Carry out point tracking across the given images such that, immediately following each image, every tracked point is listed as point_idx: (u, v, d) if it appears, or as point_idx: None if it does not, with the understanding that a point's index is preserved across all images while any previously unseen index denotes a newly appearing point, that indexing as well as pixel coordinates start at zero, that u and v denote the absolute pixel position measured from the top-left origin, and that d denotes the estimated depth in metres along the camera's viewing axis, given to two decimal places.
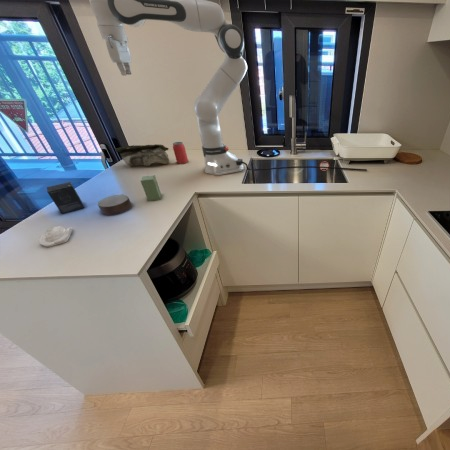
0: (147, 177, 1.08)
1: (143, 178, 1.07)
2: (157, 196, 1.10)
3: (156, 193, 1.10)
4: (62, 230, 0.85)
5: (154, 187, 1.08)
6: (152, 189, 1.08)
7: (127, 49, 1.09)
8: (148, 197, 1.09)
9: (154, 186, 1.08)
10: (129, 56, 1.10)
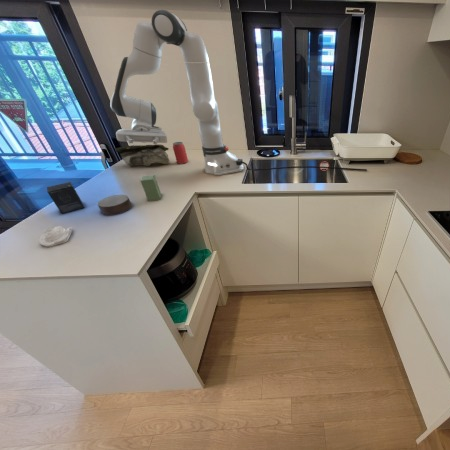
0: (147, 177, 1.08)
1: (143, 178, 1.07)
2: (157, 196, 1.10)
3: (156, 193, 1.10)
4: (62, 230, 0.85)
5: (154, 187, 1.08)
6: (152, 189, 1.08)
7: (160, 132, 1.19)
8: (148, 197, 1.09)
9: (154, 186, 1.08)
10: (160, 134, 1.17)
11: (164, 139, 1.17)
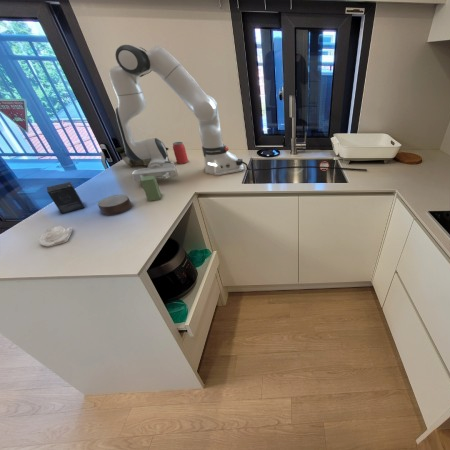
0: (147, 177, 1.08)
1: (143, 178, 1.07)
2: (157, 196, 1.10)
3: (156, 193, 1.10)
4: (62, 230, 0.85)
5: (154, 187, 1.08)
6: (152, 189, 1.08)
7: (171, 166, 1.26)
8: (148, 197, 1.09)
9: (154, 186, 1.08)
10: (171, 168, 1.24)
11: (174, 173, 1.23)
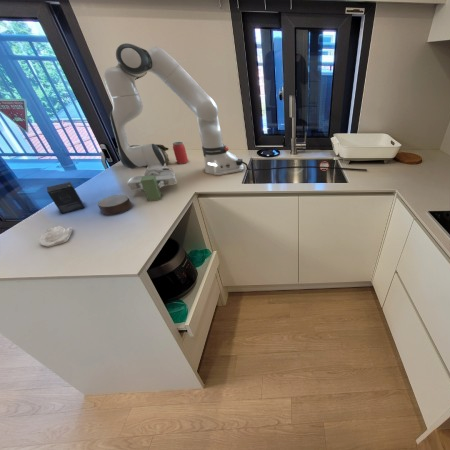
0: (147, 177, 1.08)
1: (143, 178, 1.07)
2: (157, 196, 1.10)
3: (156, 193, 1.10)
4: (62, 230, 0.85)
5: (154, 187, 1.08)
6: (152, 189, 1.08)
7: (170, 174, 1.18)
8: (148, 197, 1.09)
9: (154, 186, 1.08)
10: (169, 176, 1.16)
11: (173, 181, 1.15)
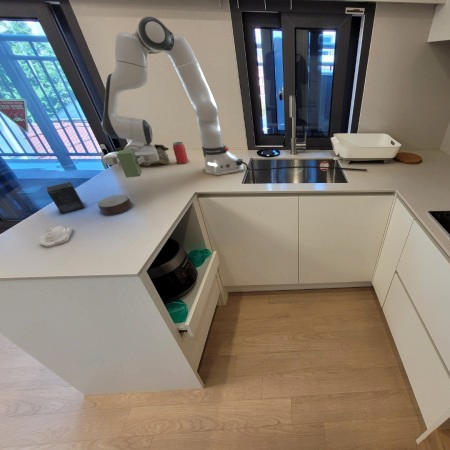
0: (125, 151, 0.98)
1: (120, 152, 0.97)
2: (136, 172, 1.01)
3: (135, 169, 1.00)
4: (62, 230, 0.85)
5: (132, 162, 0.98)
6: (130, 164, 0.98)
7: (151, 150, 1.08)
8: (126, 173, 1.00)
9: (132, 161, 0.98)
10: (151, 152, 1.06)
11: (154, 157, 1.06)
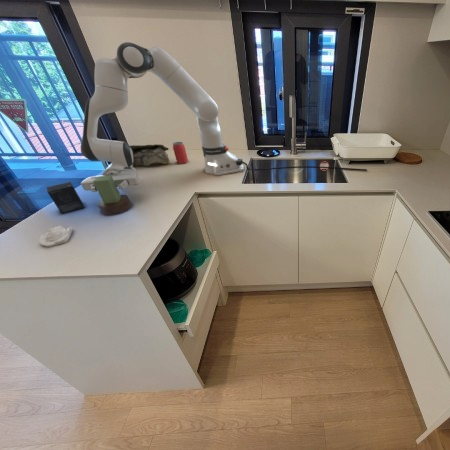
0: (102, 178, 0.97)
1: (97, 179, 0.96)
2: (114, 199, 1.00)
3: (113, 195, 0.99)
4: (62, 230, 0.85)
5: (110, 189, 0.97)
6: (107, 190, 0.97)
7: (131, 173, 1.06)
8: (104, 200, 0.98)
9: (110, 188, 0.97)
10: (130, 175, 1.05)
11: (134, 181, 1.04)
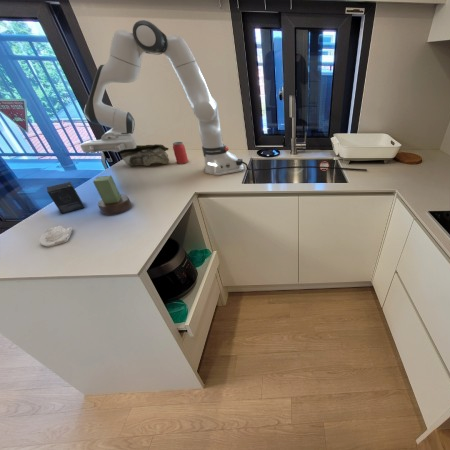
0: (102, 178, 0.97)
1: (97, 179, 0.96)
2: (114, 199, 1.00)
3: (113, 195, 0.99)
4: (62, 230, 0.85)
5: (110, 189, 0.97)
6: (107, 190, 0.97)
7: (128, 138, 1.11)
8: (104, 200, 0.98)
9: (110, 188, 0.97)
10: (127, 139, 1.09)
11: (131, 145, 1.09)
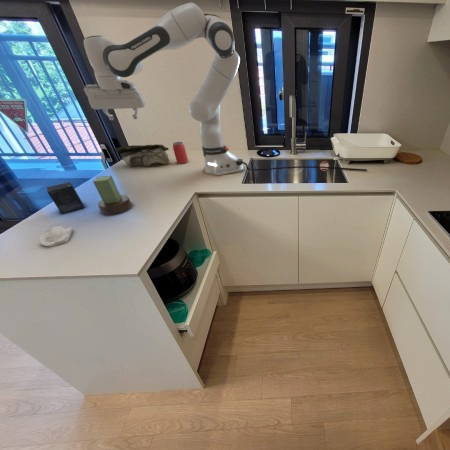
0: (102, 178, 0.97)
1: (97, 179, 0.96)
2: (114, 199, 1.00)
3: (113, 195, 0.99)
4: (62, 230, 0.85)
5: (110, 189, 0.97)
6: (107, 190, 0.97)
7: (134, 95, 1.05)
8: (104, 200, 0.98)
9: (110, 188, 0.97)
10: (137, 102, 1.06)
11: (142, 107, 1.09)
